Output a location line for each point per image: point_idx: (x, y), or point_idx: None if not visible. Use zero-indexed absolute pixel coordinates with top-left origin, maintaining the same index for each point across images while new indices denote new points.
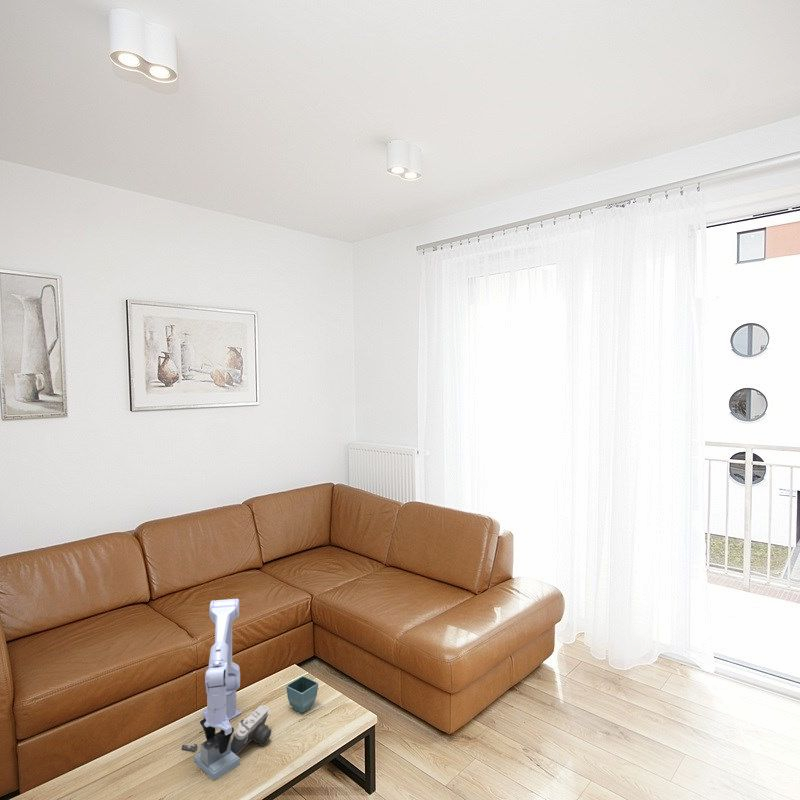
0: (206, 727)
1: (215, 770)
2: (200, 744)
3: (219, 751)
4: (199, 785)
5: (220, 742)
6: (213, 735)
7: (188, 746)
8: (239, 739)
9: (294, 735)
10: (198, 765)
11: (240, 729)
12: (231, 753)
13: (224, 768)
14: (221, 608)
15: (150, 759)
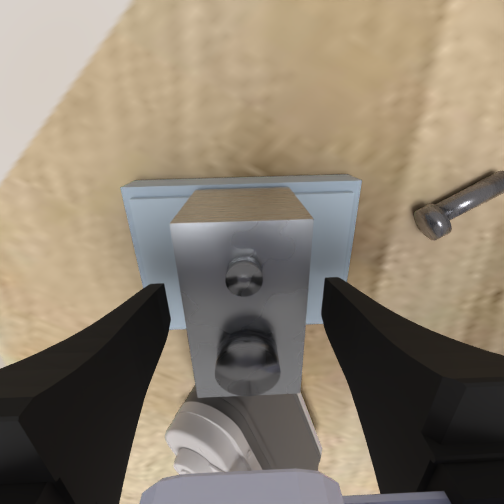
0: (394, 367)
1: (131, 206)
2: (310, 217)
3: (153, 288)
4: (151, 102)
5: (45, 353)
6: (331, 334)
7: (470, 201)
8: (182, 405)
9: (173, 470)
10: (301, 176)
11: (190, 469)
12: None
13: (136, 251)
14: None
15: None
